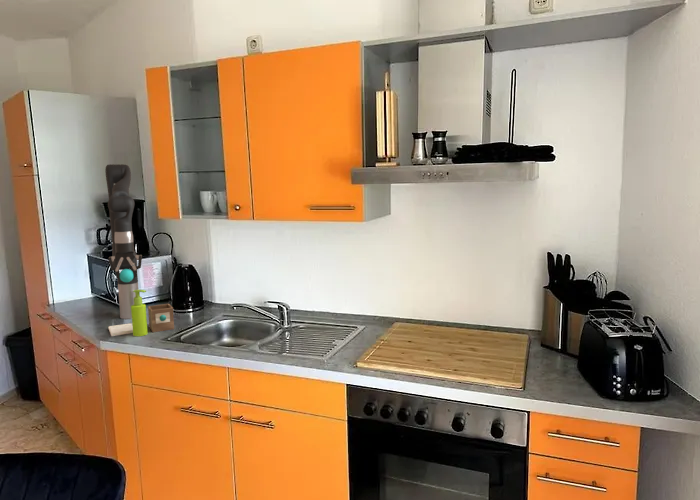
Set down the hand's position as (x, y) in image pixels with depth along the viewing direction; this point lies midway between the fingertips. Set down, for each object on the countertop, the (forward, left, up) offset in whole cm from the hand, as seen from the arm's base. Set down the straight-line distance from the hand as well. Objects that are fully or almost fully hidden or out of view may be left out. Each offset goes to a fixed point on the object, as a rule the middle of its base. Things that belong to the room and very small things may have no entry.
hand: (126, 278), depth 223 cm
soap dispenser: (+10, +3, -24) cm, 26 cm away
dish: (-1, -2, -24) cm, 24 cm away
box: (+5, +13, -24) cm, 27 cm away
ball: (0, 0, +1) cm, 1 cm away
